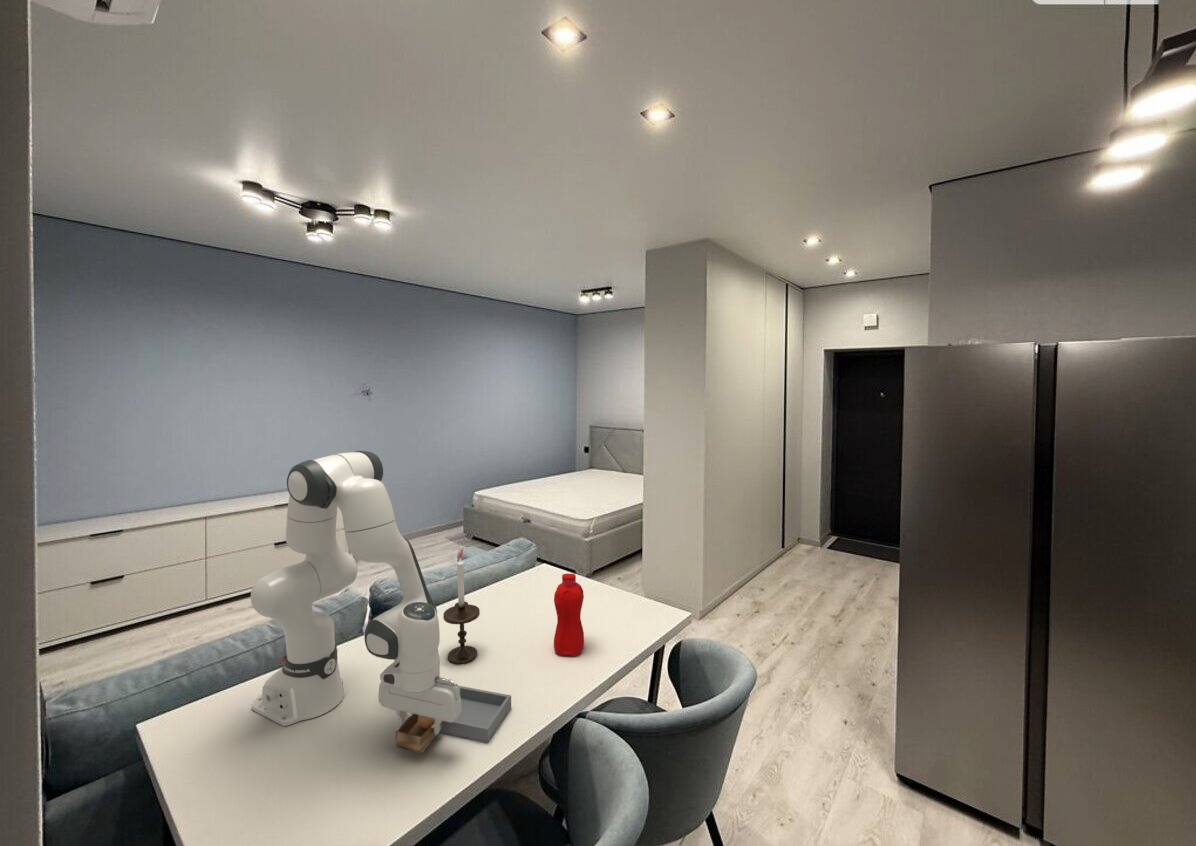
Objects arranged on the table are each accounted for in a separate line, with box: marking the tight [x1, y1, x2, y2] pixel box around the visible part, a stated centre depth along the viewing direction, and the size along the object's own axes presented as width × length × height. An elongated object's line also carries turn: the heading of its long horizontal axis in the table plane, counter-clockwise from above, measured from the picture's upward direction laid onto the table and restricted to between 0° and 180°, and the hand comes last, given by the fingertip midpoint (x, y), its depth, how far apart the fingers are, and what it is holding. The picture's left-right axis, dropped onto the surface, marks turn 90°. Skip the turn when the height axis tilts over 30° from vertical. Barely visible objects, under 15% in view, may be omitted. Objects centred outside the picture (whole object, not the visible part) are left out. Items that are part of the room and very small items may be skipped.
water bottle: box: [553, 573, 585, 657], centre depth 157 cm, size 9×11×25 cm
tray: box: [438, 685, 512, 744], centre depth 126 cm, size 20×13×4 cm, turn 75°
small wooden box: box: [394, 713, 444, 754], centre depth 116 cm, size 7×9×4 cm
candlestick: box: [442, 547, 481, 666], centre depth 152 cm, size 11×11×35 cm
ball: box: [418, 715, 435, 729], centre depth 118 cm, size 5×5×5 cm
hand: (420, 728), depth 116 cm, fingers closed on small wooden box, 7 cm apart
